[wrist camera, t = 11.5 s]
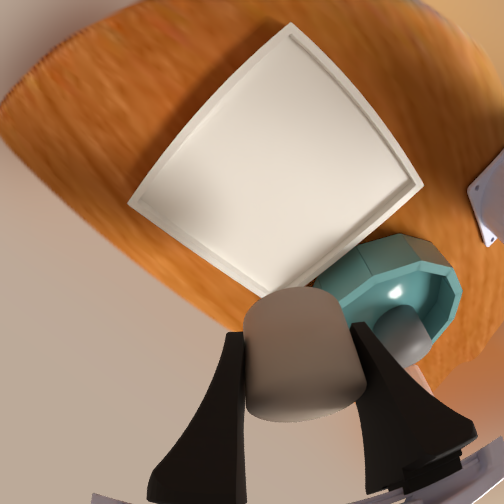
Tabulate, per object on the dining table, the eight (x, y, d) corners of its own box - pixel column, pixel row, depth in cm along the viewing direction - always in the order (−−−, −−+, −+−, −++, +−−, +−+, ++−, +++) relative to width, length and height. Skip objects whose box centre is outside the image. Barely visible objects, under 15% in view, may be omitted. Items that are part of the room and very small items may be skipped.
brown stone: (299, 267, 11) (321, 353, 8) (359, 316, 13) (385, 387, 9) (222, 327, 13) (220, 406, 9) (288, 362, 14) (298, 428, 11)
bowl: (407, 201, 18) (432, 225, 15) (455, 291, 24) (471, 314, 21) (269, 312, 23) (273, 345, 20) (354, 363, 29) (361, 388, 26)
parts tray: (287, 26, 11) (290, 21, 10) (415, 178, 17) (424, 185, 16) (132, 195, 17) (126, 203, 16) (274, 296, 22) (276, 307, 21)
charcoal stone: (381, 307, 22) (397, 343, 19) (421, 302, 22) (440, 333, 19) (367, 340, 25) (379, 373, 22) (406, 334, 25) (419, 364, 22)
